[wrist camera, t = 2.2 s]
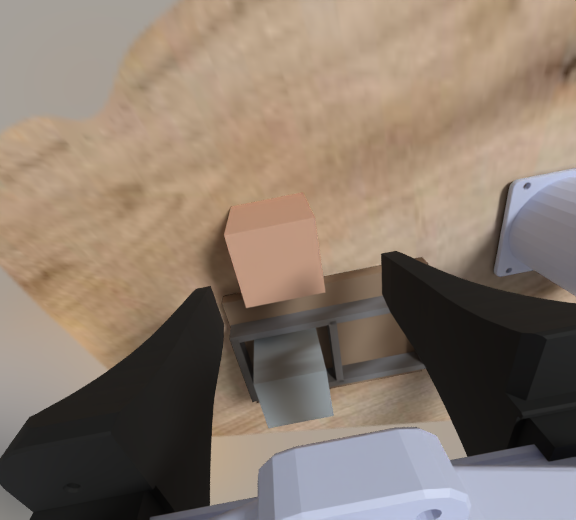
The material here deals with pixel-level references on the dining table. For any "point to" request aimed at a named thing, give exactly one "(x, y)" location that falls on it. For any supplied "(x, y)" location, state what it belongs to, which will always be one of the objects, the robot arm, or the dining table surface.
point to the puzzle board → (348, 332)
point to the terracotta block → (275, 249)
